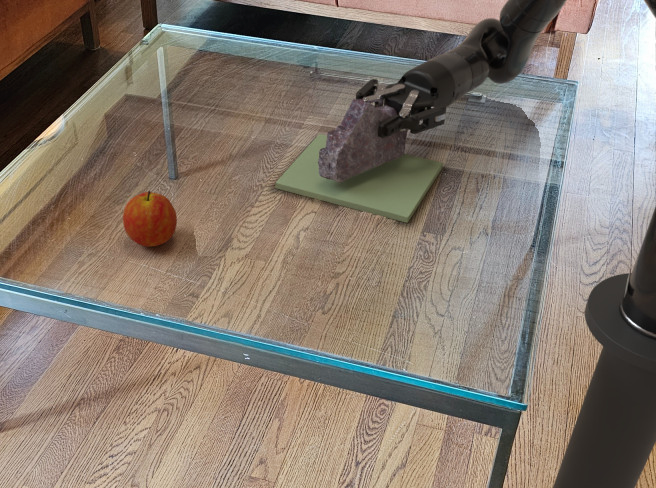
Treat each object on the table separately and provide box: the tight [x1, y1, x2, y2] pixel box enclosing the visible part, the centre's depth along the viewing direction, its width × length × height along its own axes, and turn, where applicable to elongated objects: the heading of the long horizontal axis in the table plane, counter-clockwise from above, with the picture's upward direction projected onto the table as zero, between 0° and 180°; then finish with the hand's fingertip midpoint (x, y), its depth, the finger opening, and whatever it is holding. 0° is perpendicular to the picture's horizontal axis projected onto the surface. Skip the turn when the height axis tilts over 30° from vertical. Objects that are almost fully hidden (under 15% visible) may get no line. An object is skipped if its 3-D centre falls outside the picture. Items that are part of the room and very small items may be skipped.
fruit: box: [122, 190, 178, 248], centre depth 109 cm, size 7×7×8 cm
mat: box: [275, 133, 444, 224], centre depth 123 cm, size 20×16×1 cm
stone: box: [318, 98, 409, 183], centre depth 118 cm, size 10×6×15 cm
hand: (364, 124), depth 118 cm, fingers closed on stone, 5 cm apart
